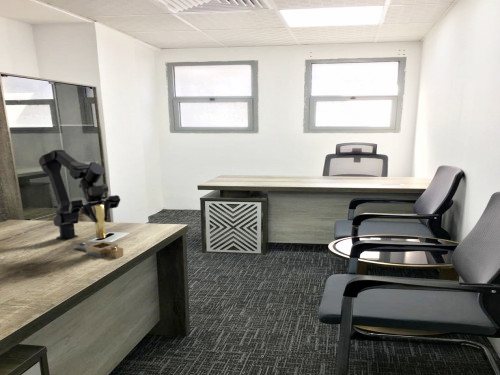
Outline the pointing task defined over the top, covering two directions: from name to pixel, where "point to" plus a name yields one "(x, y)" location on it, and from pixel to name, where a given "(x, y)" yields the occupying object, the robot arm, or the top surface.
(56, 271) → the top surface
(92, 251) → the square frame with handle
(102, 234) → the brass pin
